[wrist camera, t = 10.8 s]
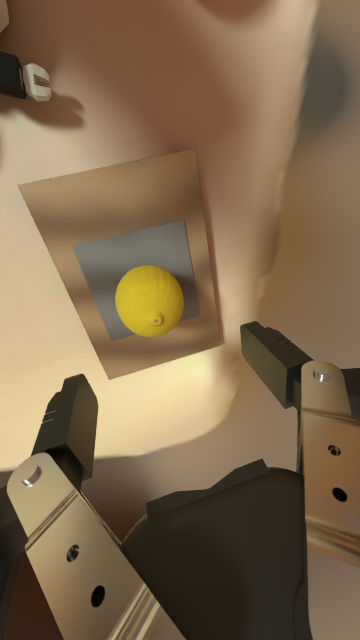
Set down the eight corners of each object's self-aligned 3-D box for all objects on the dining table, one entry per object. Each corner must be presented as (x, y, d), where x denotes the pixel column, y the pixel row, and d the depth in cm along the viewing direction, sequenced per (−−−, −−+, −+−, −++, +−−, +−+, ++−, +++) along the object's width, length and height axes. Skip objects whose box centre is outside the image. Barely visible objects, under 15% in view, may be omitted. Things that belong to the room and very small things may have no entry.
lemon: (177, 260, 22) (203, 287, 15) (167, 312, 25) (186, 356, 18) (117, 252, 21) (117, 277, 14) (113, 308, 23) (111, 354, 16)
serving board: (24, 186, 19) (16, 185, 17) (190, 152, 20) (195, 148, 19) (109, 371, 28) (108, 381, 27) (216, 339, 30) (221, 346, 28)
